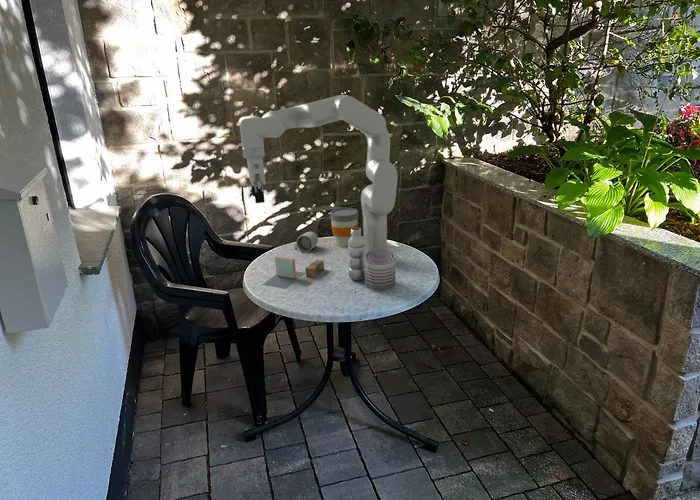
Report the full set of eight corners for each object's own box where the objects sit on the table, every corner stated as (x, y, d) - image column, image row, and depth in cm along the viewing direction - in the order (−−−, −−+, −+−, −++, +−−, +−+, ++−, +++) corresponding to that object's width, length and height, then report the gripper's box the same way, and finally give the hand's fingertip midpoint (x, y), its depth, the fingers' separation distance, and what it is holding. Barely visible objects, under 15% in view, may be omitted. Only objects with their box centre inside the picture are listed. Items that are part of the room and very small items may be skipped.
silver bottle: (357, 273, 191) (355, 225, 184) (369, 278, 187) (368, 228, 179) (345, 278, 187) (343, 229, 180) (357, 284, 183) (356, 233, 175)
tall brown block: (314, 269, 197) (313, 258, 195) (327, 271, 195) (326, 260, 193) (293, 285, 183) (293, 274, 182) (308, 288, 181) (307, 276, 179)
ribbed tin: (400, 281, 184) (400, 251, 179) (388, 294, 174) (388, 263, 170) (372, 276, 189) (372, 247, 184) (359, 288, 179) (358, 258, 175)
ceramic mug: (319, 246, 220) (318, 230, 218) (313, 252, 213) (311, 236, 210) (297, 244, 224) (296, 228, 221) (290, 251, 216) (288, 234, 214)
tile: (296, 277, 188) (294, 258, 185) (294, 279, 187) (292, 259, 184) (278, 274, 192) (276, 255, 189) (276, 276, 190) (274, 257, 187)
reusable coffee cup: (325, 244, 222) (324, 212, 217) (344, 236, 231) (343, 206, 225) (346, 250, 214) (345, 217, 209) (364, 242, 223) (364, 210, 218)
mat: (306, 274, 192) (305, 272, 192) (286, 290, 180) (286, 288, 180) (283, 270, 197) (283, 269, 196) (262, 285, 184) (262, 284, 184)
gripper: (267, 155, 167) (272, 204, 174) (261, 147, 183) (265, 192, 189) (245, 157, 165) (250, 206, 172) (240, 149, 181) (245, 194, 187)
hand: (258, 199), depth 180 cm, fingers open, 9 cm apart
